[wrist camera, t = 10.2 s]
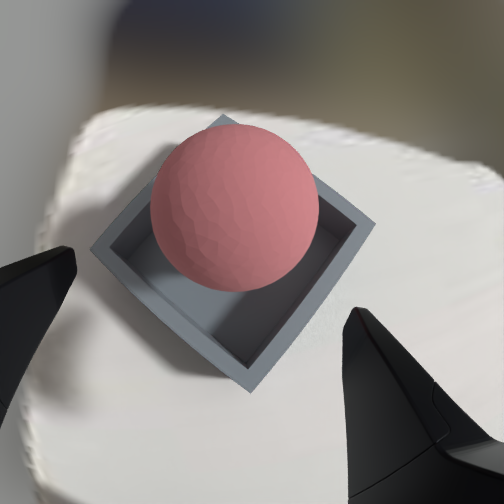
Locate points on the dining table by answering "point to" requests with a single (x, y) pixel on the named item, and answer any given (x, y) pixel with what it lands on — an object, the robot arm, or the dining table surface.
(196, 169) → the light bulb
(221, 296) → the blue-gray bin
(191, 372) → the dining table surface
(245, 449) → the dining table surface
